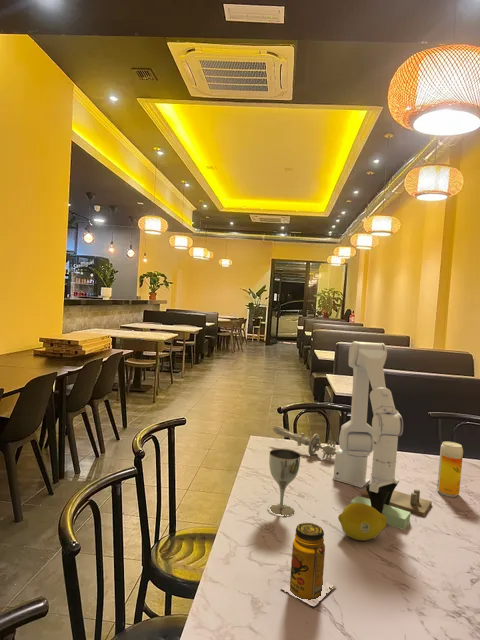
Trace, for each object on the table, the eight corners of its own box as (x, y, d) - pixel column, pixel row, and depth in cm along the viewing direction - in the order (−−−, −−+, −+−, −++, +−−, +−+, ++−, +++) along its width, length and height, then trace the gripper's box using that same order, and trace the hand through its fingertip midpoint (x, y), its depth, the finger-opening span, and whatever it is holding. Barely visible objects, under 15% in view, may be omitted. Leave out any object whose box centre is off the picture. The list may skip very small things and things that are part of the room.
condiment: (280, 590, 84) (284, 527, 83) (304, 571, 90) (308, 513, 89) (313, 609, 79) (318, 543, 78) (336, 587, 85) (341, 526, 85)
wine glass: (300, 508, 117) (304, 452, 117) (290, 520, 110) (295, 461, 110) (272, 500, 121) (275, 446, 120) (261, 512, 114) (265, 454, 113)
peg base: (361, 496, 127) (362, 482, 127) (371, 487, 135) (373, 474, 134) (423, 516, 117) (425, 501, 117) (431, 505, 125) (432, 491, 125)
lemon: (335, 541, 102) (337, 507, 102) (338, 525, 110) (341, 493, 109) (384, 552, 99) (387, 517, 98) (384, 535, 106) (387, 502, 106)
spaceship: (280, 420, 174) (272, 416, 168) (366, 452, 154) (360, 448, 147) (273, 440, 172) (264, 436, 166) (359, 474, 152) (352, 472, 146)
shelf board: (349, 512, 118) (350, 501, 118) (356, 506, 122) (357, 495, 122) (404, 531, 110) (405, 519, 110) (409, 523, 114) (410, 512, 114)
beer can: (461, 498, 130) (466, 448, 130) (439, 495, 131) (443, 446, 131) (455, 490, 136) (460, 442, 136) (434, 487, 137) (439, 439, 137)
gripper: (391, 471, 107) (387, 526, 107) (407, 456, 119) (403, 506, 119) (363, 463, 111) (358, 516, 111) (381, 449, 123) (377, 497, 123)
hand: (380, 510), depth 116 cm, fingers closed on shelf board, 5 cm apart
